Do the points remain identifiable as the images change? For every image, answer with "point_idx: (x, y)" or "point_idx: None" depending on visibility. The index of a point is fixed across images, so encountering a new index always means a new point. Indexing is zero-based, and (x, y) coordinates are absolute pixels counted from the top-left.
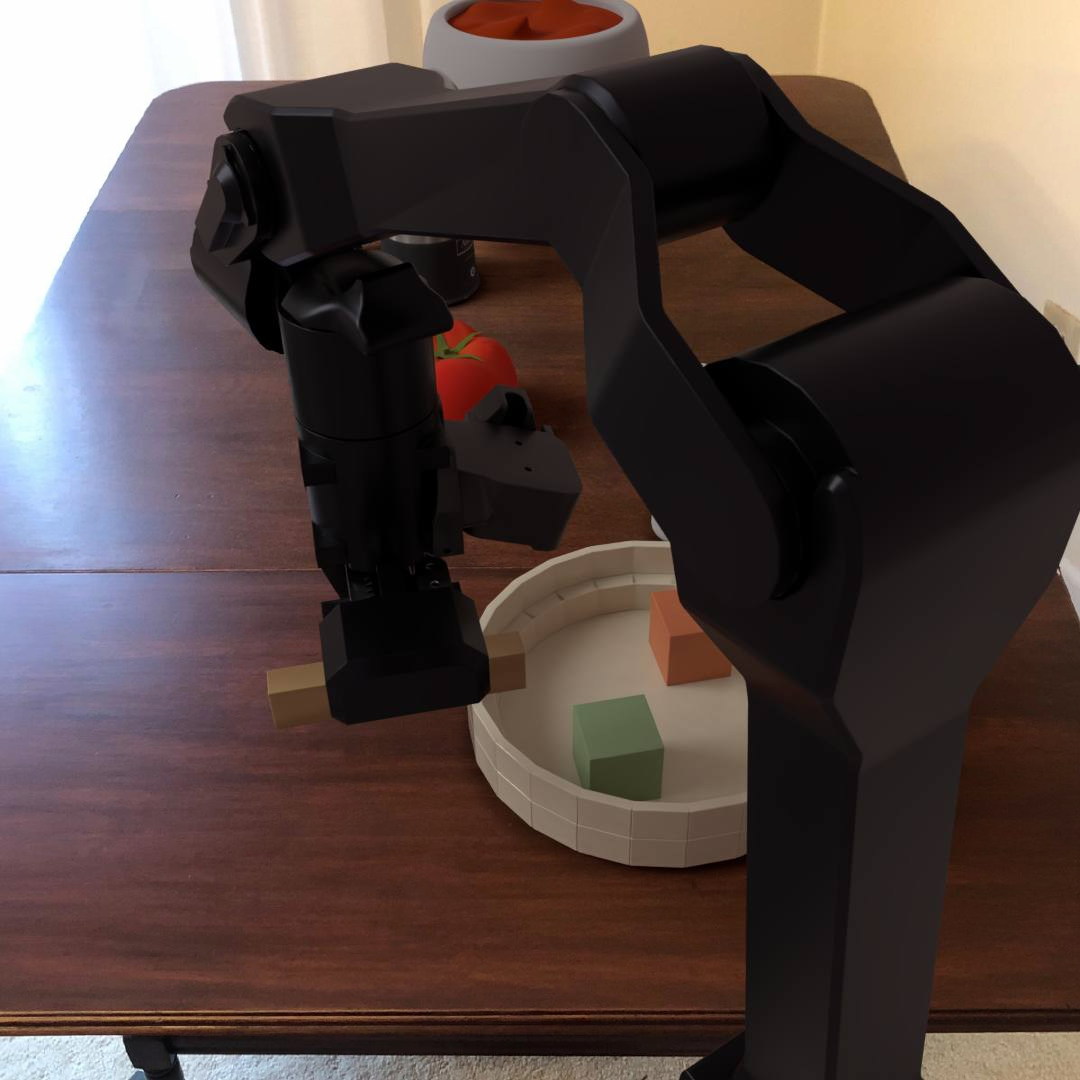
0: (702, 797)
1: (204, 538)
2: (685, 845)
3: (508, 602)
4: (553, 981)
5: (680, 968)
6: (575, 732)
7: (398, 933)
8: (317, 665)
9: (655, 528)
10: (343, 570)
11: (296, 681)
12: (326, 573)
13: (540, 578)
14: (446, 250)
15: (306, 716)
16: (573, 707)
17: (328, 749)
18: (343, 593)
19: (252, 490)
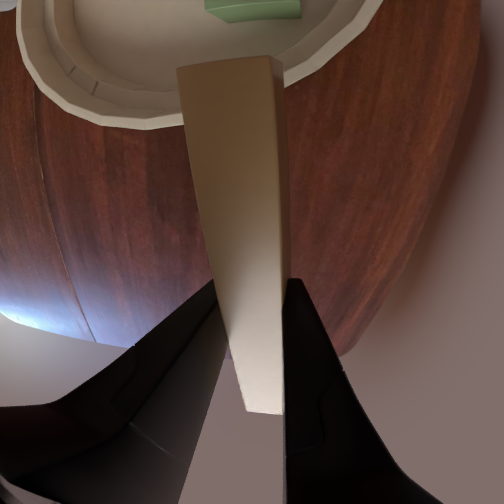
0: None
1: (51, 274)
2: None
3: (61, 91)
4: (449, 100)
5: (455, 15)
6: (230, 13)
7: (381, 194)
8: (245, 388)
9: (15, 3)
10: (168, 499)
11: (269, 401)
12: (178, 500)
13: (39, 66)
14: None
15: None
16: (208, 10)
17: (195, 222)
18: (187, 464)
19: (20, 250)
